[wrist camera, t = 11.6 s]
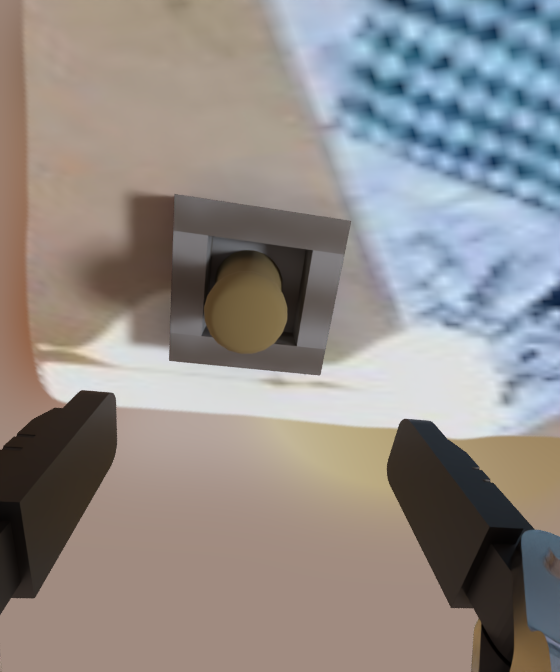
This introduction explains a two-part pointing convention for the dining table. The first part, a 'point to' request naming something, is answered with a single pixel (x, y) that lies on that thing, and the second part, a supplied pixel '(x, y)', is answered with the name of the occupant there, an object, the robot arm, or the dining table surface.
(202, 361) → the square holder
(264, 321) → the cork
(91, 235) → the dining table surface
